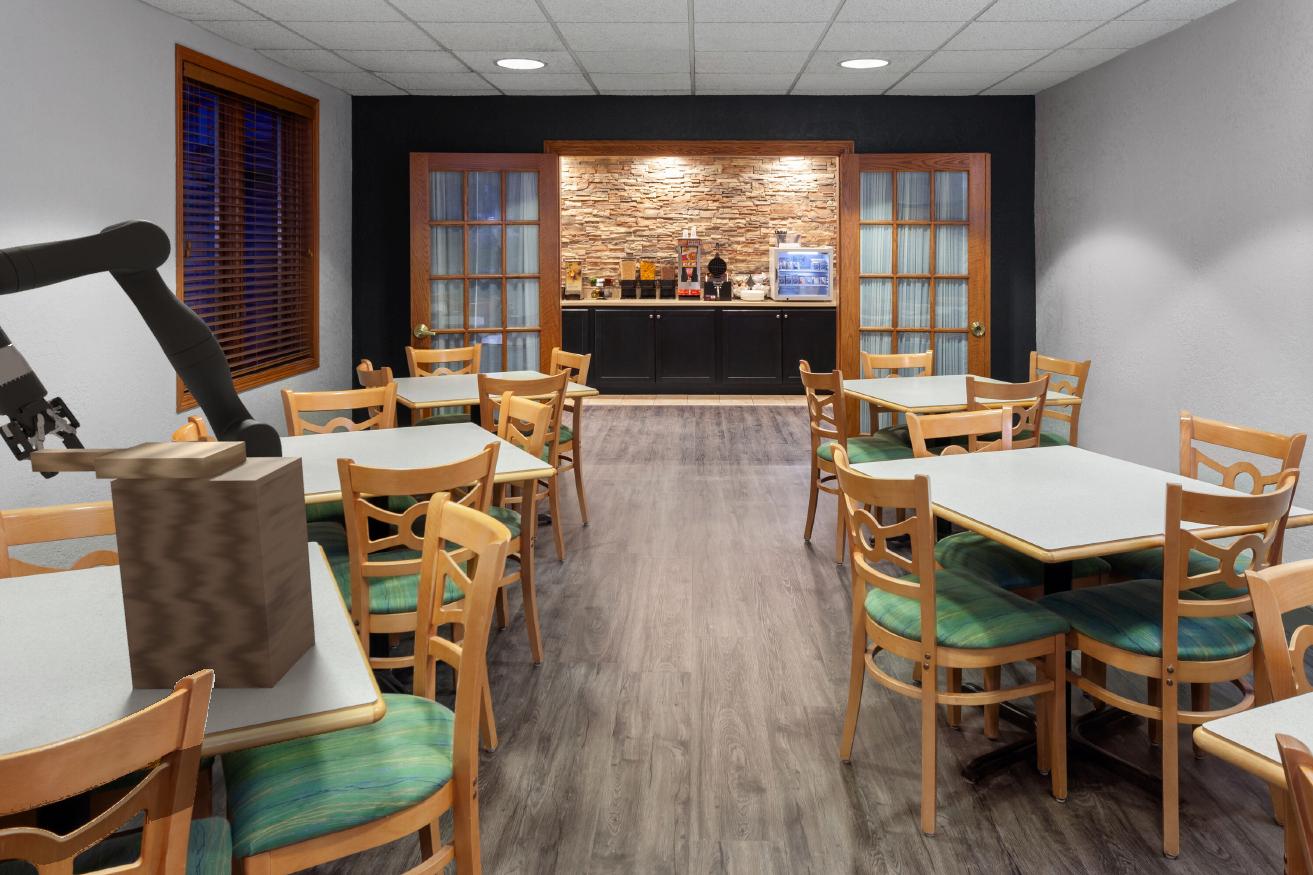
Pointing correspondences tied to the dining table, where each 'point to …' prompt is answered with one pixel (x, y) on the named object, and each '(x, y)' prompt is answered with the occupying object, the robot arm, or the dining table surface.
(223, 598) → the cabinet
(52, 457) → the bread board
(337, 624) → the dining table surface
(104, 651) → the dining table surface
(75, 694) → the dining table surface
